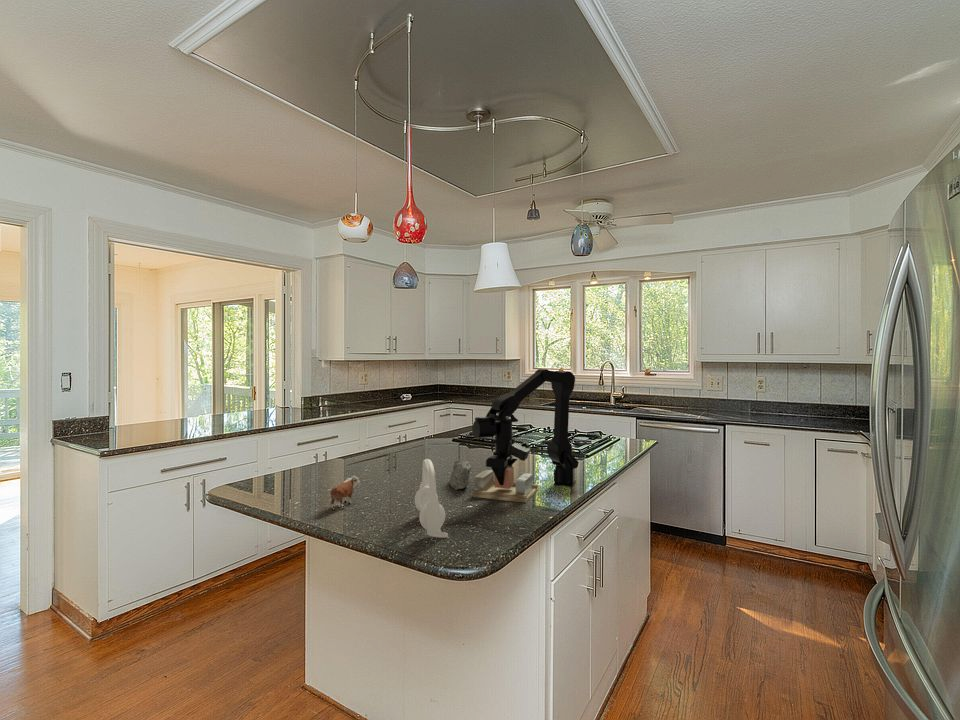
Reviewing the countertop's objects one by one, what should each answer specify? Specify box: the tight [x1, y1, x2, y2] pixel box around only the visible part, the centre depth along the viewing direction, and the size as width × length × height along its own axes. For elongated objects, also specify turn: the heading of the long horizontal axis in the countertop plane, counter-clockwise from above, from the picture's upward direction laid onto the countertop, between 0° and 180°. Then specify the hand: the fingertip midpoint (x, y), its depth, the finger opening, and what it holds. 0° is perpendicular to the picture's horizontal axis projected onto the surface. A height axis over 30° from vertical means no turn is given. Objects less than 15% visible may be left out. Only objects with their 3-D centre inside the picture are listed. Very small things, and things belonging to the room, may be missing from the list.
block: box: [494, 466, 515, 489], centre depth 165 cm, size 5×5×6 cm
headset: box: [414, 458, 449, 539], centre depth 136 cm, size 20×7×18 cm, turn 12°
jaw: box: [514, 472, 534, 495], centre depth 163 cm, size 3×10×5 cm, turn 158°
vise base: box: [471, 469, 539, 503], centre depth 165 cm, size 18×14×6 cm
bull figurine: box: [330, 475, 361, 508], centre depth 155 cm, size 4×13×8 cm, turn 161°
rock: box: [449, 459, 472, 491], centre depth 175 cm, size 15×8×10 cm, turn 178°
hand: (504, 483), depth 165 cm, fingers closed on block, 5 cm apart
